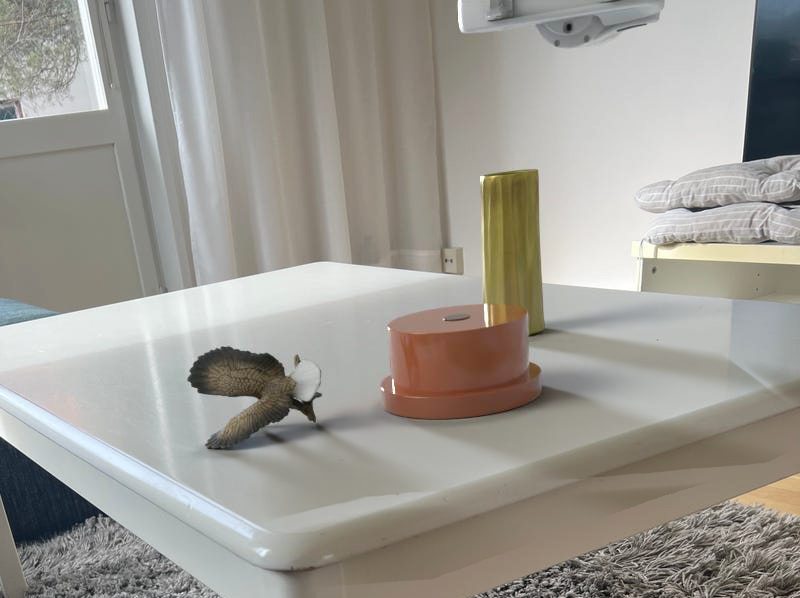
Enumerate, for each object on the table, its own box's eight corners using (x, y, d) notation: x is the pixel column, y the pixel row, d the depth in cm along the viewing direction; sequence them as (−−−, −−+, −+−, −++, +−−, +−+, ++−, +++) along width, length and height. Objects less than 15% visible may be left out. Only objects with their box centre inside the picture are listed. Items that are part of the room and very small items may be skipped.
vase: (552, 333, 93) (551, 168, 86) (489, 341, 93) (483, 178, 86) (535, 322, 98) (533, 167, 92) (475, 331, 98) (469, 176, 92)
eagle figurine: (285, 394, 79) (179, 397, 75) (309, 322, 73) (196, 321, 70) (318, 462, 75) (208, 469, 71) (346, 391, 70) (229, 394, 66)
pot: (532, 370, 81) (531, 294, 78) (550, 409, 70) (549, 323, 67) (384, 385, 83) (377, 311, 80) (379, 425, 72) (371, 341, 69)
